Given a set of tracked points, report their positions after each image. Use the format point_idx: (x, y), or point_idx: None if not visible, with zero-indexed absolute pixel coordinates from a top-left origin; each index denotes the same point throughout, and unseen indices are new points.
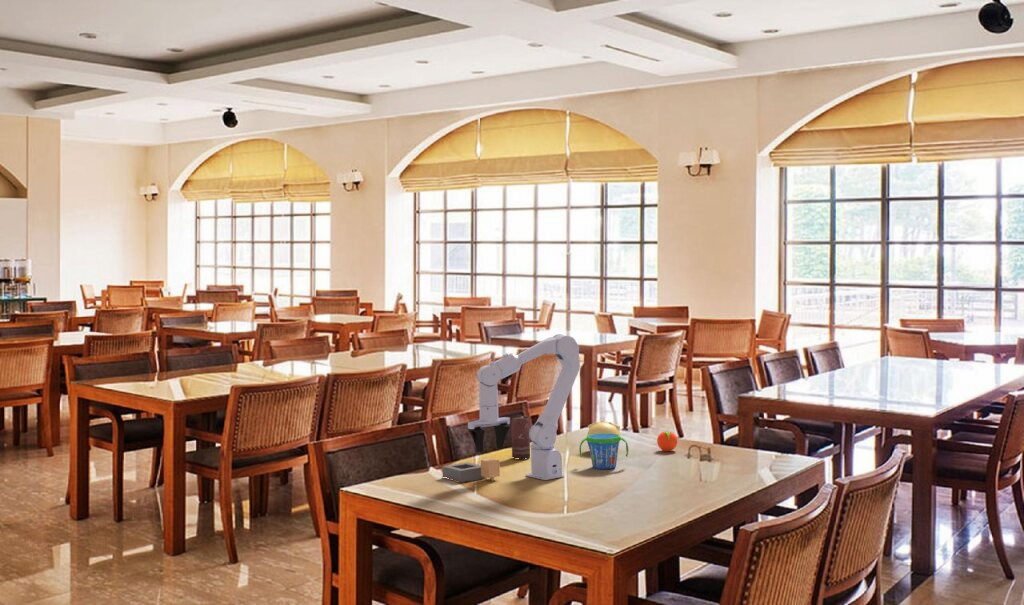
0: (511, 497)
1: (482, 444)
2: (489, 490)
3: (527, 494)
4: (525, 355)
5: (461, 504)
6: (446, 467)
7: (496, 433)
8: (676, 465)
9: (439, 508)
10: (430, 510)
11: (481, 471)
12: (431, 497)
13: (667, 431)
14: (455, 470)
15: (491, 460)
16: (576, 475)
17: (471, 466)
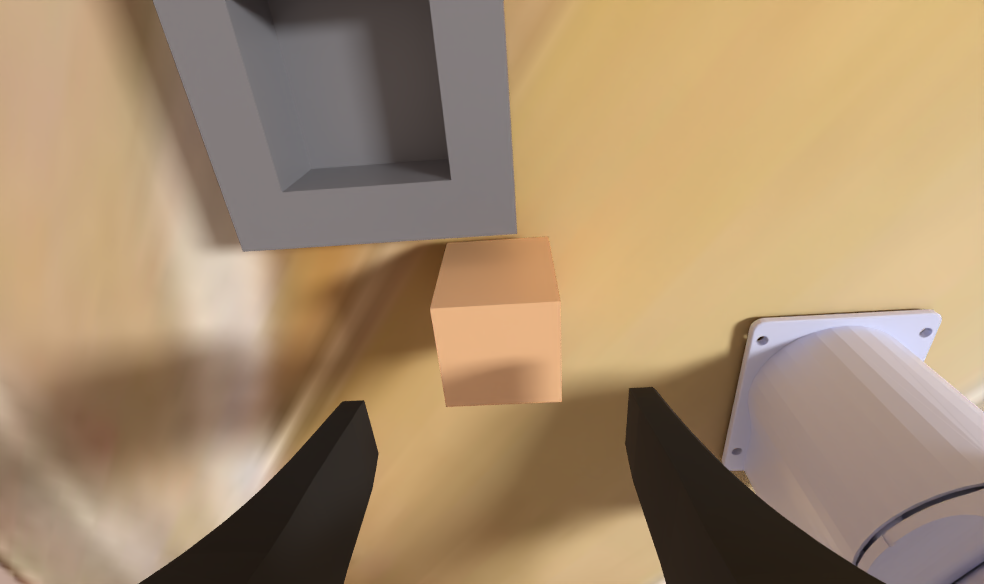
0: (379, 578)
1: (349, 540)
2: None
3: (462, 578)
4: None
5: (146, 558)
6: (156, 10)
7: (699, 540)
8: None
9: (44, 557)
10: (4, 560)
11: (443, 263)
12: (24, 413)
13: None
14: (221, 176)
15: (489, 388)
16: None
17: (440, 85)
